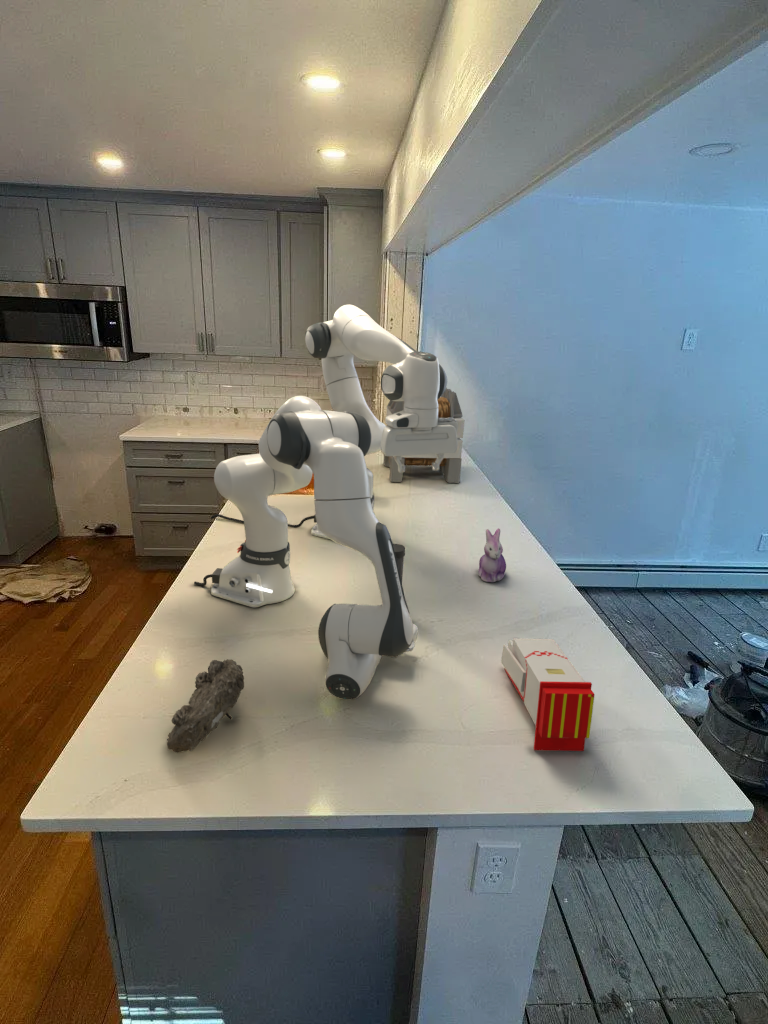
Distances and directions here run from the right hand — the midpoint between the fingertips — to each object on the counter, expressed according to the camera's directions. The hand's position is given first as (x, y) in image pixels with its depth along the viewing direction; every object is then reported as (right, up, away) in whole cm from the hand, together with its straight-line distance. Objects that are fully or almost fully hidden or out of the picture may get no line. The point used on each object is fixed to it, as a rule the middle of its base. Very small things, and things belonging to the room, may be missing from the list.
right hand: (418, 470), depth 149 cm
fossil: (-42, -50, -41) cm, 77 cm away
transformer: (+8, +8, +126) cm, 126 cm away
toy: (+22, -50, -33) cm, 64 cm away
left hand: (-10, -35, -13) cm, 39 cm away
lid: (-6, -20, -7) cm, 22 cm away
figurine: (+23, -30, +22) cm, 44 cm away
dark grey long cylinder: (-7, -37, -1) cm, 38 cm away
